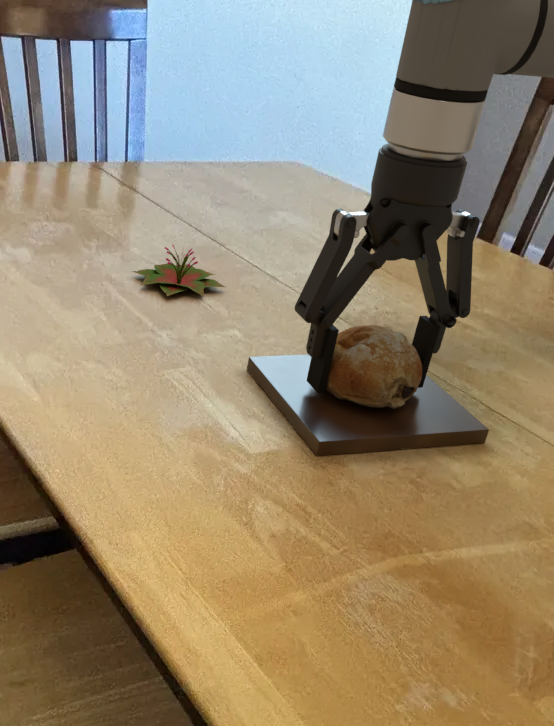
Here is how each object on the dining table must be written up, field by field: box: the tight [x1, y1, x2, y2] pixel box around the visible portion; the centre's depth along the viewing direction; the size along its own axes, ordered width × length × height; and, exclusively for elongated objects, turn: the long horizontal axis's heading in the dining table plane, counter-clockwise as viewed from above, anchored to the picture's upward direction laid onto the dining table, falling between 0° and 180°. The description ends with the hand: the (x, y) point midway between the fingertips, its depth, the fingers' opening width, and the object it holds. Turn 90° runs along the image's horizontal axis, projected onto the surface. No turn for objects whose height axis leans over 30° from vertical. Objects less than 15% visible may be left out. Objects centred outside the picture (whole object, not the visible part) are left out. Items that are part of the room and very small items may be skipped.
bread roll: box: [326, 324, 422, 409], centre depth 86 cm, size 10×10×8 cm
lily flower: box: [131, 244, 226, 297], centre depth 111 cm, size 12×12×5 cm
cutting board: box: [246, 353, 490, 457], centre depth 89 cm, size 18×18×2 cm
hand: (364, 384), depth 88 cm, fingers closed on bread roll, 10 cm apart
